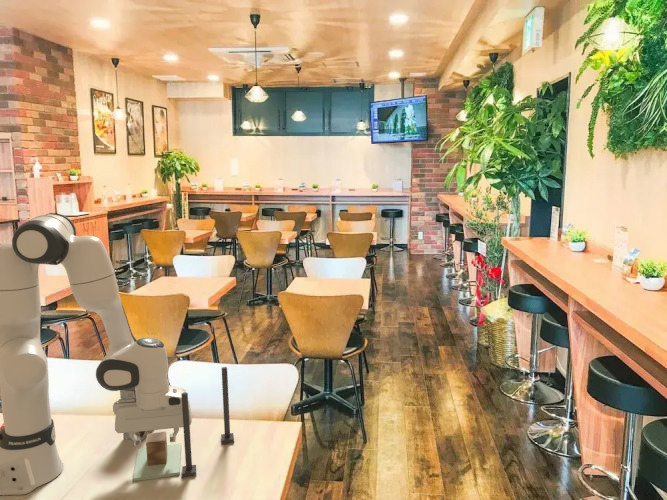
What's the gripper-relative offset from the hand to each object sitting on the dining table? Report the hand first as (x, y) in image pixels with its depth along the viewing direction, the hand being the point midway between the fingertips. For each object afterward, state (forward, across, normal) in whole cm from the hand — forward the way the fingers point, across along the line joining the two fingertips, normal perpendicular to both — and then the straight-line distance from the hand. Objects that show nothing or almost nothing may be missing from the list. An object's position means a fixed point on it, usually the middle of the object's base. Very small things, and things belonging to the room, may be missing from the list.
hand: (155, 443), depth 156 cm
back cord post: (+6, +20, +8) cm, 22 cm away
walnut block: (+5, 0, 0) cm, 5 cm away
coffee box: (+6, -6, +19) cm, 21 cm away
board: (+6, +1, 0) cm, 6 cm away
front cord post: (+6, +9, -7) cm, 13 cm away
